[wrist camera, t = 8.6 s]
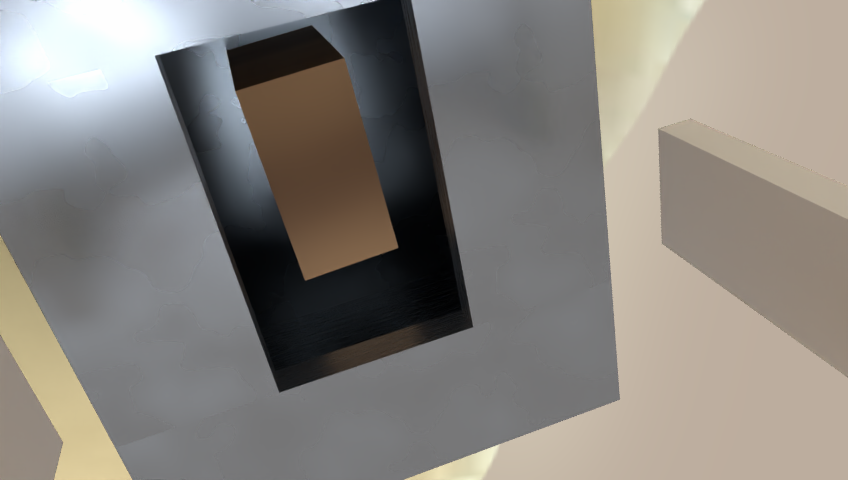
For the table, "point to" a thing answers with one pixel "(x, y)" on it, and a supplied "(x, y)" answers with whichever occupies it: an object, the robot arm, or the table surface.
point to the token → (313, 149)
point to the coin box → (271, 247)
